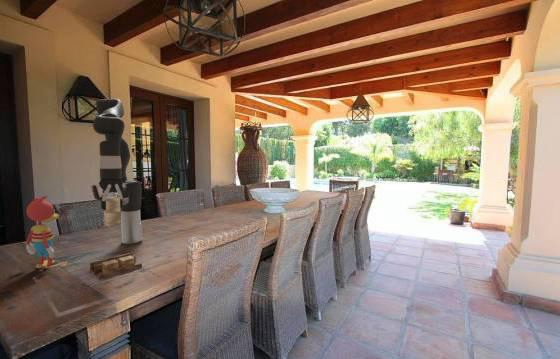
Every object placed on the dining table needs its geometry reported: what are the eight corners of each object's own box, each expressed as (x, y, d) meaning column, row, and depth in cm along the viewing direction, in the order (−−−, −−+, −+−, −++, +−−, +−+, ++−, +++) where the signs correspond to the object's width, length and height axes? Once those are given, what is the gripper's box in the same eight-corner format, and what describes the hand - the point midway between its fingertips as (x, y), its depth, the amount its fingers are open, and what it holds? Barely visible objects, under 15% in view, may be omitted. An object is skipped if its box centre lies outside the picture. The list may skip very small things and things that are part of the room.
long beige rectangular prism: (117, 222, 116) (117, 196, 116) (120, 224, 114) (119, 197, 114) (104, 224, 113) (103, 198, 112) (107, 226, 111) (106, 198, 110)
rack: (130, 261, 123) (130, 252, 123) (143, 269, 115) (143, 259, 115) (88, 272, 111) (88, 262, 111) (99, 281, 103) (99, 271, 102)
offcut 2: (130, 264, 117) (130, 255, 116) (134, 267, 114) (134, 257, 114) (118, 267, 113) (118, 258, 113) (122, 270, 111) (122, 260, 110)
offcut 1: (114, 269, 112) (114, 259, 112) (118, 271, 109) (118, 261, 109) (102, 272, 109) (101, 262, 108) (105, 275, 106) (105, 265, 106)
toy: (71, 265, 117) (68, 195, 115) (44, 275, 108) (40, 198, 105) (48, 261, 122) (44, 193, 120) (20, 269, 112) (16, 196, 110)
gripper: (125, 166, 120) (127, 205, 121) (86, 167, 109) (88, 210, 110) (133, 167, 115) (134, 208, 116) (93, 168, 104) (94, 213, 105)
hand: (111, 209), depth 113 cm, fingers closed on long beige rectangular prism, 5 cm apart
